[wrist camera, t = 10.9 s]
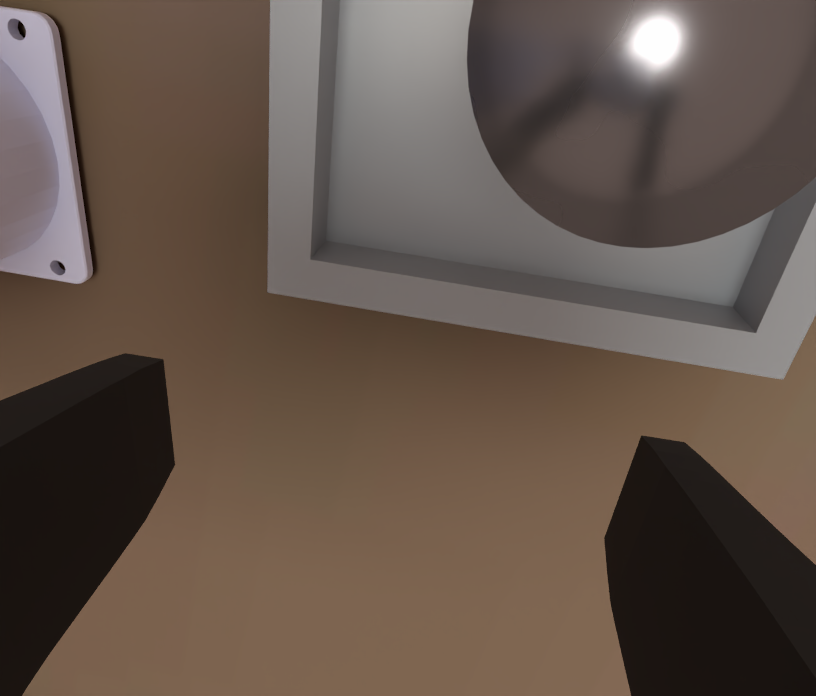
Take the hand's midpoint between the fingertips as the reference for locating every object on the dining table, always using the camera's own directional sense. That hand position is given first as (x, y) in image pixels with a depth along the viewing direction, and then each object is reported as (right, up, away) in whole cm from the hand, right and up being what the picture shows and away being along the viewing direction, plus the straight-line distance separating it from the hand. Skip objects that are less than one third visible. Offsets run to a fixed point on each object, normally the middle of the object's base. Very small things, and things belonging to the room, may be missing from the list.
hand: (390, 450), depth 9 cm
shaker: (+4, +9, +5) cm, 11 cm away
